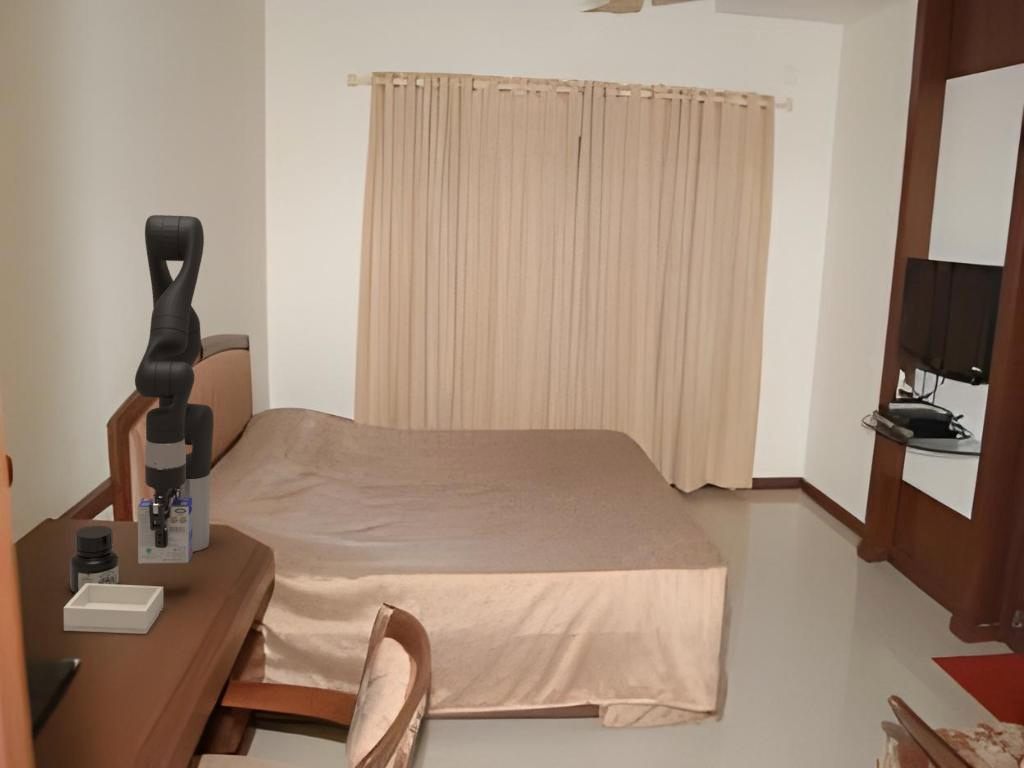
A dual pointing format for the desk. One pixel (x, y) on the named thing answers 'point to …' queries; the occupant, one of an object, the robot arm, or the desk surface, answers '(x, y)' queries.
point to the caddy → (113, 608)
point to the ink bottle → (93, 558)
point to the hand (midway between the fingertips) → (165, 540)
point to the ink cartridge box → (177, 534)
